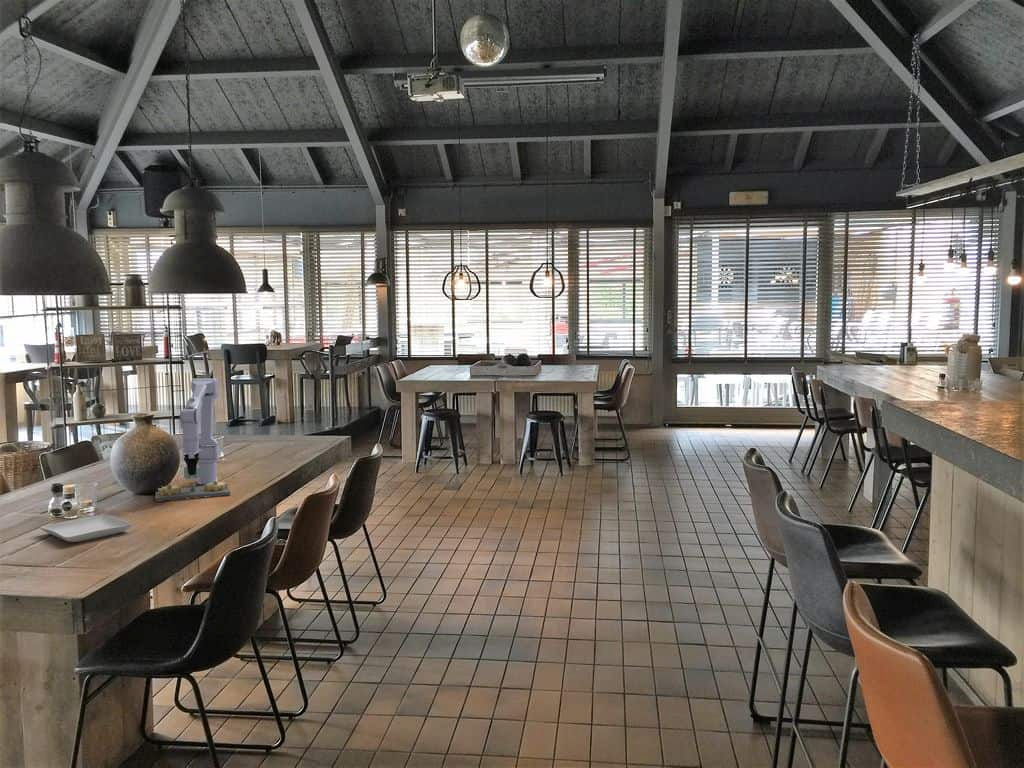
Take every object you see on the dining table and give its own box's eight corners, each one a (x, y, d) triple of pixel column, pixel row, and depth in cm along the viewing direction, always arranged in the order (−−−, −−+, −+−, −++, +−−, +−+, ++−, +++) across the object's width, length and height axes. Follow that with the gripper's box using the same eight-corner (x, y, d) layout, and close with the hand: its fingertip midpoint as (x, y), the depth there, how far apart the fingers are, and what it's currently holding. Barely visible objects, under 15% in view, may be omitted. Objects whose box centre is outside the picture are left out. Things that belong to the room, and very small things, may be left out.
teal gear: (184, 476, 318) (184, 466, 318) (200, 475, 321) (199, 465, 320) (184, 479, 313) (184, 469, 313) (200, 478, 315) (199, 468, 315)
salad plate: (105, 522, 279) (104, 512, 279) (134, 533, 266) (134, 522, 266) (39, 536, 263) (38, 525, 263) (66, 548, 250) (66, 537, 249)
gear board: (156, 493, 319) (155, 481, 318) (228, 487, 329) (227, 475, 328) (155, 501, 306) (154, 489, 305) (230, 495, 316) (229, 482, 316)
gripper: (202, 441, 310) (203, 476, 311) (201, 435, 323) (202, 468, 325) (182, 442, 307) (183, 477, 309) (182, 436, 321) (183, 470, 322)
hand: (192, 473), depth 317 cm, fingers closed on teal gear, 6 cm apart
